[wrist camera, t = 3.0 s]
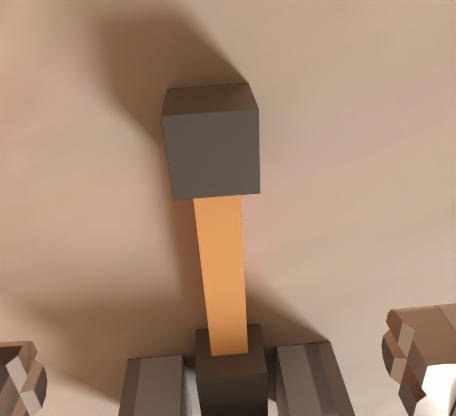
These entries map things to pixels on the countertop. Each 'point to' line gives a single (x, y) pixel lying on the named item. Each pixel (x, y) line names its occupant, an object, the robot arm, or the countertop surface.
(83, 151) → the countertop surface
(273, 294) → the countertop surface
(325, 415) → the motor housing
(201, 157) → the wooden and grey bar
